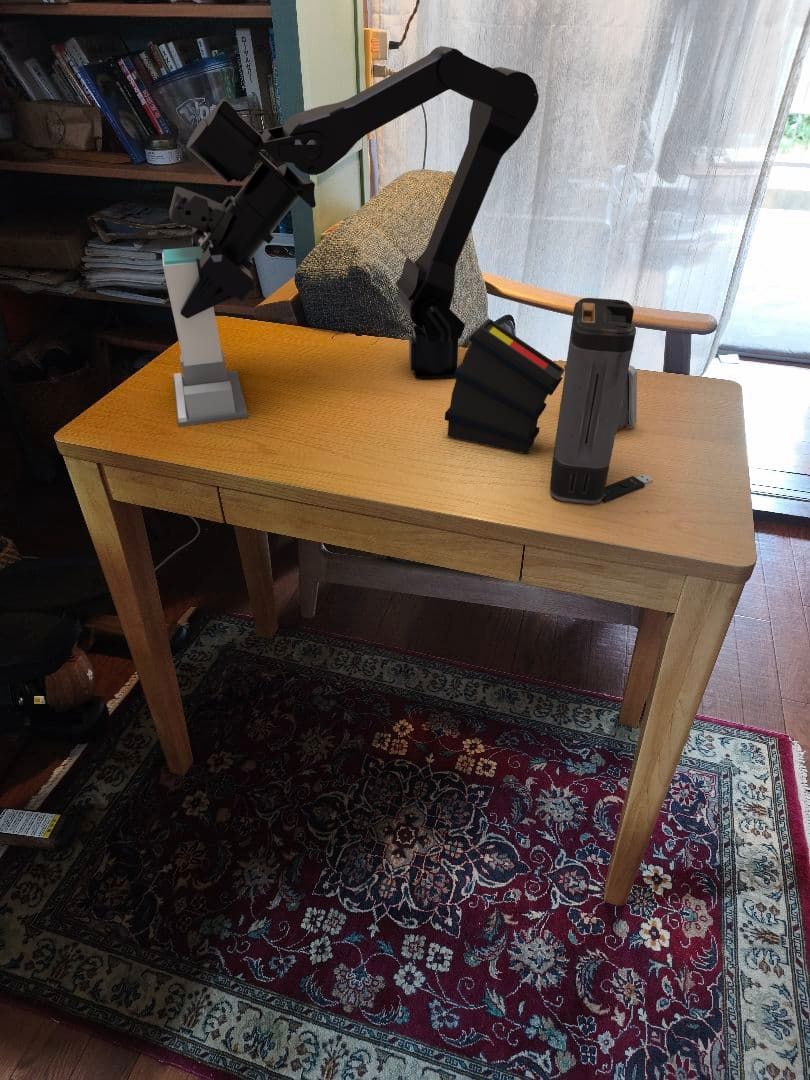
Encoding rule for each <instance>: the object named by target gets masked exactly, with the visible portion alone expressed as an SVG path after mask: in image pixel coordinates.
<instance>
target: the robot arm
mask: <svg viewBox="0 0 810 1080" xmlns="http://www.w3.org/2000/svg"><path fill="white" fill-rule="evenodd" d="M449 90H451V91H453V92H454V93H457V94H459V95H460V96H463V97H465V98H468V99H469V100H471V101H472V105H471V108H470V111H469V112H470V113H469V126H468V138H467V139H468V141H467V144H466V147H465V150H464V151H463V154H462V157H461V159H460V162H459V165H458V167H457V170H456V172H455V174H454V177H453V180H452V182H451V184H450V187H449V189H448V192H447V195H446V198H445V200H444V201H443V205H442V207H441V210H440V213H439V215H438V217H437V220H436V222H435V225H434V228H433V230H432V233H431V235H430V238H429V240H428V243H427V246H426V248H425V249H424V251H423V252H422V254H421V255H419V256H418V258H417V259H416V260H413V259H411V258H409V257H406V259H405V261H404V263H403V264H404V265H403V268H402V272H401V275H400V277H398V279H397V280H396V282H395V286H396V287H397V294H396V299H397V302H398V304H399V306H400V307H401V310H403V311H404V313H405V314H406V315H407V316H408V317H409V319H410V320H411V321H412V323H414V325H413V326H412V336H410V337H409V339H408V364H409V367H410V370H411V371H413V374H414V378H415V379H416V380H426V379H429V380H430V379H447V378H449V379H450V378H453V375H454V372H455V370H456V369H457V368H458V355H459V339H461V338H462V335H463V333H464V330H465V328H466V324H465V323H464V322H463V321H462V319H460V317H459V316H457V314H456V313H455V312H454V311H453V310H452V309H451V306H452V302H453V299H454V298H453V297H454V294H455V288H456V286H455V285H456V267H457V265H458V262H459V260H460V257H461V255H462V252H463V251H464V247H465V244H466V242H467V240H468V239H469V237H470V236H469V235H470V234H471V230H472V228H473V226H474V224H475V221H476V218H477V217H478V215H479V212H480V209H481V207H482V204H483V202H484V199H485V198H486V195H487V193H488V191H489V188H490V186H491V183H492V180H493V178H494V175H495V174H496V172H497V169H498V166H499V164H500V161H501V160H502V158H503V156H504V155H505V154H507V152H508V150H510V149H511V147H513V146H514V145H515V143H516V142H517V141H518V140H520V138H521V136H522V135H523V133H524V131H525V129H526V128H527V126H528V124H529V123H530V121H531V120H532V118H533V116H534V114H535V113H536V111H537V108H538V104H539V100H540V99H539V97H540V95H539V93H538V89H537V85H536V82H535V80H534V78H532V77H531V76H530V75H529V74H528V73H526V72H523V71H520V70H514V69H511V68H507V67H503V66H497V67H491V66H488V65H486V64H483V63H482V62H480V61H478V60H475V59H473V58H471V57H469V56H467V55H465V54H463V52H462V51H460V49H457V48H454V47H451V46H445V45H444V46H443V45H440V46H437V47H435V48H434V49H432V51H430V53H429V54H427V55H425V56H423V57H422V58H420V59H418V60H416V61H414V62H413V63H411V64H409V65H407V66H406V67H404V68H402V69H399V71H396V72H395V73H393V74H391V75H389V76H387V77H385V78H384V79H381V80H380V81H377V83H375V84H372V85H371V86H369V87H367V88H365V89H363V90H362V91H360V92H359V93H357V94H355V95H353V96H351V97H349V98H347V99H344V100H342V101H339V102H335V103H331V104H330V103H329V104H324V105H319V106H317V107H314V108H310V109H307V110H304V111H301V112H298V113H294V114H293V115H291V116H290V117H288V119H286V121H285V122H284V123H283V125H281V126H276V127H272V128H265V129H263V130H258V131H257V130H256V129H255V128H253V127H252V126H251V125H250V123H248V122H247V120H245V119H244V118H243V117H242V116H241V115H240V114H239V113H238V111H236V109H235V108H234V106H233V105H232V104H231V103H229V101H227V100H226V98H222V99H221V100H220V101H219V102H218V103H217V105H216V106H215V107H214V108H213V109H212V110H211V111H210V112H209V113H208V114H207V115H206V117H202V118H201V120H200V121H199V122H198V124H197V125H196V127H195V129H194V131H193V132H192V133H191V135H190V137H189V139H188V142H187V144H186V148H187V150H188V151H190V152H191V153H192V154H194V155H195V156H196V157H197V159H199V160H200V161H201V162H203V163H204V164H205V165H206V167H208V168H210V170H212V171H213V172H214V173H215V174H216V175H218V176H219V177H220V178H221V179H222V180H223V181H225V183H227V184H228V183H230V182H232V181H233V180H234V181H235V182H236V183H237V182H239V183H242V182H243V181H244V180H245V179H246V178H248V176H249V175H250V174H251V175H250V176H249V178H248V179H247V180H246V182H245V183H244V185H243V186H242V187H241V189H240V190H239V192H238V193H236V195H235V196H233V195H230V196H226V198H225V199H224V200H223V202H222V203H220V202H217V201H216V200H213V199H211V198H210V197H207V196H205V195H202V194H199V193H197V192H194V191H192V190H189V189H186V188H184V187H180V186H175V187H174V190H173V195H172V199H171V202H170V203H171V204H170V208H169V210H168V214H169V220H170V221H171V222H173V223H175V224H178V225H181V226H183V225H185V226H188V227H191V229H192V230H191V231H192V234H193V235H195V236H196V237H198V236H199V235H200V236H201V237H200V238H199V239H198V240H197V239H196V238H194V237H191V244H192V247H199V246H201V249H203V252H204V254H203V256H202V258H201V260H199V259H198V258H196V263H197V269H198V278H197V280H196V282H195V284H194V286H193V288H192V290H191V292H190V294H189V295H188V297H187V299H186V301H185V303H184V305H183V307H182V309H181V312H180V313H181V315H182V316H184V317H185V318H190V317H192V316H194V315H196V314H198V313H200V312H202V311H204V310H207V309H209V308H211V307H215V306H217V305H219V304H221V303H224V302H227V301H229V300H231V299H239V300H240V301H241V302H242V303H243V302H244V303H246V302H247V300H248V299H249V298H250V296H251V295H252V294H253V293H254V291H255V284H254V278H253V276H252V274H251V270H250V269H251V268H252V267H253V264H254V263H253V260H252V259H253V258H254V257H255V255H256V253H258V251H259V250H260V248H261V247H262V246H263V245H264V243H265V242H266V243H267V244H268V245H269V244H270V243H271V241H273V239H274V238H275V237H274V235H273V232H274V231H275V229H276V228H277V226H278V225H279V224H280V223H281V221H282V220H283V219H284V218H285V217H286V215H287V214H288V212H289V211H290V210H291V208H292V207H293V206H294V205H295V203H296V202H297V201H298V200H299V199H301V200H302V201H304V202H305V204H307V205H308V206H309V207H310V208H311V209H314V208H315V207H316V205H317V202H316V198H315V186H316V184H315V182H314V181H313V179H310V178H309V179H302V178H301V177H300V176H299V175H298V174H297V173H296V172H294V171H293V169H291V168H290V167H289V165H288V164H289V163H290V164H292V165H293V166H294V167H295V168H296V169H298V170H299V171H300V172H302V173H305V174H307V175H310V176H318V175H321V174H323V173H325V172H327V171H328V170H329V169H330V168H332V167H333V166H334V165H336V163H338V162H339V161H340V160H341V159H343V158H344V157H345V156H346V155H347V154H348V153H349V152H350V151H351V150H352V149H353V147H355V145H356V144H357V143H358V142H359V141H360V140H362V139H363V138H365V136H366V135H368V134H370V133H372V132H374V131H375V130H377V129H380V128H381V127H382V126H384V125H386V124H388V123H391V122H392V121H393V120H396V119H398V118H399V117H401V116H403V115H404V114H407V113H408V112H410V111H413V110H414V109H416V108H418V107H419V106H421V105H422V104H424V103H427V102H428V101H431V100H432V99H434V98H435V97H437V96H439V95H441V94H442V93H444V92H446V91H449ZM262 150H264V151H265V152H266V153H267V154H268V155H269V156H270V157H271V158H273V160H275V161H277V162H282V163H283V164H281V165H280V166H278V167H277V166H276V165H274V164H273V163H272V162H271V161H270V160H269V159H268V158H267V157H266V156H265V155H264V154H263V153H261V151H262ZM259 161H260V163H259V164H258V162H259ZM285 163H288V164H285ZM257 164H258V166H257V167H256V165H257ZM255 167H256V168H255ZM254 168H255V170H254ZM253 170H254V171H253ZM252 171H253V172H252Z"/></svg>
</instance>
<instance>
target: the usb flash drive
mask: <svg viewBox="0 0 810 1080" xmlns="http://www.w3.org/2000/svg"><path fill="white" fill-rule="evenodd" d="M653 481H654V478H652V477H651V476H649V475H648V474H645V473H644V474H641V475H638V476H636V477H635V476H634V475H632V476H629V477H627V478H623V479H621V480H618V481H616V482H613V483H611V484H608V485H605V490H604V495H603V499H602V500H601V501H600V502H602V503H603V504H606V503H608V502H611V501H613V500H616V499H618V498H621V497H623V496H626V495H628V494H631V493H634V492H636V491H639V490H641V489H644V488H645V486H647V485H649V484H651V483H653Z"/></svg>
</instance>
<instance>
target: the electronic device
mask: <svg viewBox="0 0 810 1080" xmlns="http://www.w3.org/2000/svg"><path fill="white" fill-rule="evenodd" d="M572 314H573V315H572V319H571V320H572V321H571V328H570V337H569V340H568V341H569V343H568V350H567V357H566V362H565V363H566V364H565V365H566V369H565V368H564V376H563V384H562V389H561V390H562V391H561V399H560V404H559V405H560V407H559V412H558V420H557V426H556V427H557V428H556V432H555V433H556V434H555V440H554V447H553V454H552V460H551V471H550V472H551V473H550V481H549V482H550V483H549V484H550V485H549V492H550V494H551V496H552V497H553V498H555V500H558V501H561V502H565V503H577V504H583V505H584V504H586V505H593V504H597V503H599V502H602V501H601V500H602V499H603V495H604V490H605V486H607V484H606V483H607V480H608V479H607V478H608V474H609V470H610V463H611V459H612V455H613V450H614V449H613V448H614V444H615V439H616V434H617V431H618V430H617V425H618V419H619V414H620V410H621V405H622V401H623V396H624V390H625V384H626V379H627V374H628V369H629V365H630V364H631V359H632V353H633V350H634V349H633V348H634V344H635V339H636V334H637V328H636V326H635V325H634V323H633V318H634V314H635V310H634V307H633V306H632V305H631V304H630V303H629V302H628V301H625V300H622V299H614V298H613V299H611V298H598V297H597V298H596V297H584V298H580V299H579V300H578V301H577V302H575V303H574V307H573V313H572ZM616 430H617V431H616Z"/></svg>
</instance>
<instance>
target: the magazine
mask: <svg viewBox="0 0 810 1080" xmlns="http://www.w3.org/2000/svg"><path fill="white" fill-rule="evenodd" d="M468 341H470V342H471V343H470V345H469V346H468V348H467V350H466V351H465V353H464V356H463V359H462V362H461V363H460V365H459V366H457V369H456V370H455V372H454V375H453V377H452V378H453V379H455V382H454V386H453V388H452V389H453V390H452V392H451V397H450V406H449V407H448V409H446V411H444V412H445V413H444V421H447V422H448V423H447V424H448V425H447V437H449V438H452V439H457V440H461V441H467V442H469V443H470V442H471V443H476V444H480V445H483V446H488V447H489V446H490V447H494V448H498V449H503V450H507V451H512V452H516V453H521V454H529V452H530V450H531V449H532V447H533V445H534V444H535V440H536V438H537V437H538V436H539V435H538V434H539V433H540V429H541V428H540V427H539V426H537V425H538V421H539V419H540V417H541V415H542V414H543V412H544V410H545V409H546V408H547V403H546V399H547V397H548V396H552V395H553V393H555V391H556V389H557V388H558V386H559V385H560V383H561V382H562V380H564V377H562V376H563V374H564V373H565V368H563V367H562V366H560V365H559V364H558V363H556V362H555V361H553V360H552V359H550V358H549V357H547V356H546V355H545V354H543V353H541V352H540V351H538V350H537V349H535V348H534V347H532V346H531V345H529V344H528V343H527V342H526V341H523V340H522V339H521V338H519V337H517V336H516V335H514V334H513V333H512V332H510V331H509V330H508V329H506V328H504V327H503V326H501V325H500V324H498V323H497V322H495V321H494V320H493V319H490V318H487V319H486V320H485V321H484V322H483V323H482V324H481V325H480V326H479V327H478V328H477V329H476V331H475V330H474V332H473V333H472V334H471V335H470V338H469V339H468Z"/></svg>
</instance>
